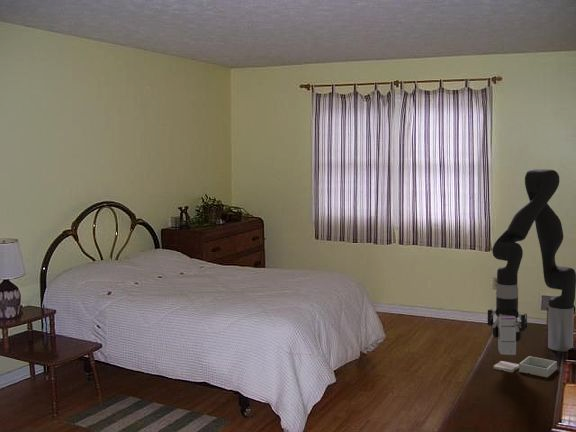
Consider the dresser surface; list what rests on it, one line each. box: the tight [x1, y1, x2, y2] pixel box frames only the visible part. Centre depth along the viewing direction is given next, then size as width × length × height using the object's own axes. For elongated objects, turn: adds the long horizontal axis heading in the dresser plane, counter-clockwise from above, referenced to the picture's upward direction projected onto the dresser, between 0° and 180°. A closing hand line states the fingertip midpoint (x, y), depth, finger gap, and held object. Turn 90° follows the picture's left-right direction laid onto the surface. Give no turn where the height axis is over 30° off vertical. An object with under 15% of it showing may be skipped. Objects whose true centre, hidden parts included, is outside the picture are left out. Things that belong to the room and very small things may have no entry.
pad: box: [493, 360, 519, 373], centre depth 226 cm, size 7×7×1 cm
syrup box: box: [497, 314, 517, 356], centre depth 224 cm, size 6×6×14 cm
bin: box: [518, 355, 558, 378], centre depth 222 cm, size 10×10×3 cm
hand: (506, 339), depth 225 cm, fingers closed on syrup box, 7 cm apart
